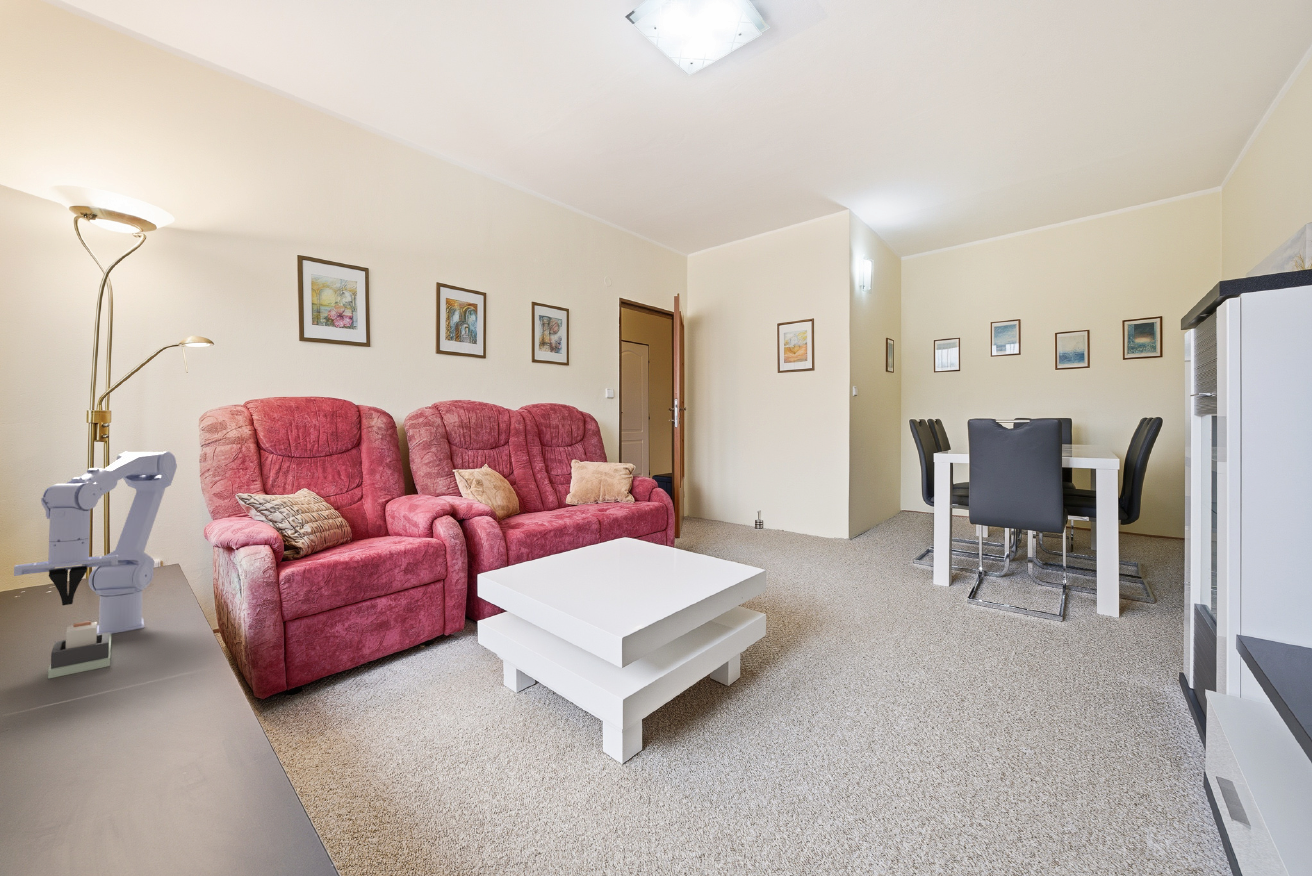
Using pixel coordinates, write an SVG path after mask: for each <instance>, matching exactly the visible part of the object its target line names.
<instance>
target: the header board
mask: <svg viewBox="0 0 1312 876" xmlns="http://www.w3.org/2000/svg"><path fill="white" fill-rule="evenodd" d="M111 646H112V634H109V632H106V633H100V634H97V644H91V645H86V646H80V647H75V648H69V649H66V639H63V640H57V641H54V644H53V646H52V649H51V654H50V663H49V668H48V669H47V670H48V671H47V678H48V680H49V679H53V678H58V677H62V676H67V675H71V674H78V673H81V672H83V673H84V672H86V671H87V672H88V671H93V670H96V669H102V668H106V667H110V666H111V650H112V649H111V648H112V647H111Z"/></svg>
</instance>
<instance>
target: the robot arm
mask: <svg viewBox="0 0 1312 876" xmlns="http://www.w3.org/2000/svg"><path fill="white" fill-rule="evenodd" d="M176 459H177V458H176V457H175V455H174V454H173V453H172V452H170V451H163V452H162V451H159V452H158V451H155V452H153V451H124V452H122V453H119V454H118V455H117V456H116V460H115V461H114V462H112V463H111V464H110V465H108V466H106V467H104V468H99V467H90V468H88V469H87V470H86V472H84V473H82V474H80V475H79V476H75V477H73V478H71V480H69V481H67V482H65V483H56V484H52V485H51V486H49V487H48V488H46V489H45V491H44V492H43V494H42V497H41V498H40V502H41V505H42V507H43V508H44V510H45V517H46V519H47V520H49V525H48V527H49V530H48V560H46V561H45V560H44V561H38V562H31V563H22V564H15V565H14V566H13V567H14V568H13V569H14V570H13V576H14V577H17V576H19V577H20V576H23V575H31V574H40V573H48V577H49V579H50V580H51V582H52V583H53V585H54V586H55V588H56V590H57V593H59V596H60V599H61V605H62V606H68V605H73V603H74V597H75V594H76V591H77V589H78V587H79V585H80V583H81V582H82V580H83V578H84V576H85V575H86V574H87V571H88V568H93V569H92V571H91V572H90V574H89V576H88V586H89V588H90V589H91V591H92V592H95V596H99V607H98V610H99V611H98V624H97V634H100V633H106V632H109V634H111V635H113V634H117V633H118V634H119V633H124V632H129V631H136V630H139V629H140V630H141V629H144V628H145V622H144V621H145V620H144V617H143V590H145V589H147V587H148V586H149V585H150V584H151V582H152V581H153V579H154V566H155V563H156V562H155V560H154V559H153V558H152V556H150V555H149V554H148V553H146V552H145V550H146V547H147V544H148V542H149V538H150V535H151V532H152V529H153V526H154V523H155V521H156V518H157V514H158V512H159V508H160V506H161V503H162V500H163V496H164V495H165V491H166V488H168V487H170V486H171V485H172V483H173V481H174V477H175V474H176V470H177V468H178V465H177V460H176ZM119 480H120V481H121V480H123V481H125V483H126V485H127V486H128V487H130V488H133V489H135V495H134V498H133V500H132V503H131V506H130V509H129V512H128V514H127V516H126V519H125V523H124V525H123V528H122V530H121V534H120V536H119V538H118V541H117V544H116V547H115V549H114V550H113V551H111V552H110V553H107V554H105V555H100V556H90V530H91V529H90V526H91V510H92V509H94V508H95V507H97V504H98V502H99V500H100V499H101V498H102V496H103V495H105V494H108V493H109V492H110V491H112V490H114V489H115V488H116V487H117V485H118V482H119Z"/></svg>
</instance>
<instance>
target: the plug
mask: <svg viewBox="0 0 1312 876" xmlns="http://www.w3.org/2000/svg"><path fill="white" fill-rule="evenodd" d="M97 625H98V622H97V621H93V622H92V620H87V621H81V622H74V623H73V624H72V625H69V626H67V628H66V630H65V631H66V632H65V640H66V649H69V648H75V647H80V646H86V645H91V644H97Z"/></svg>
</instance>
